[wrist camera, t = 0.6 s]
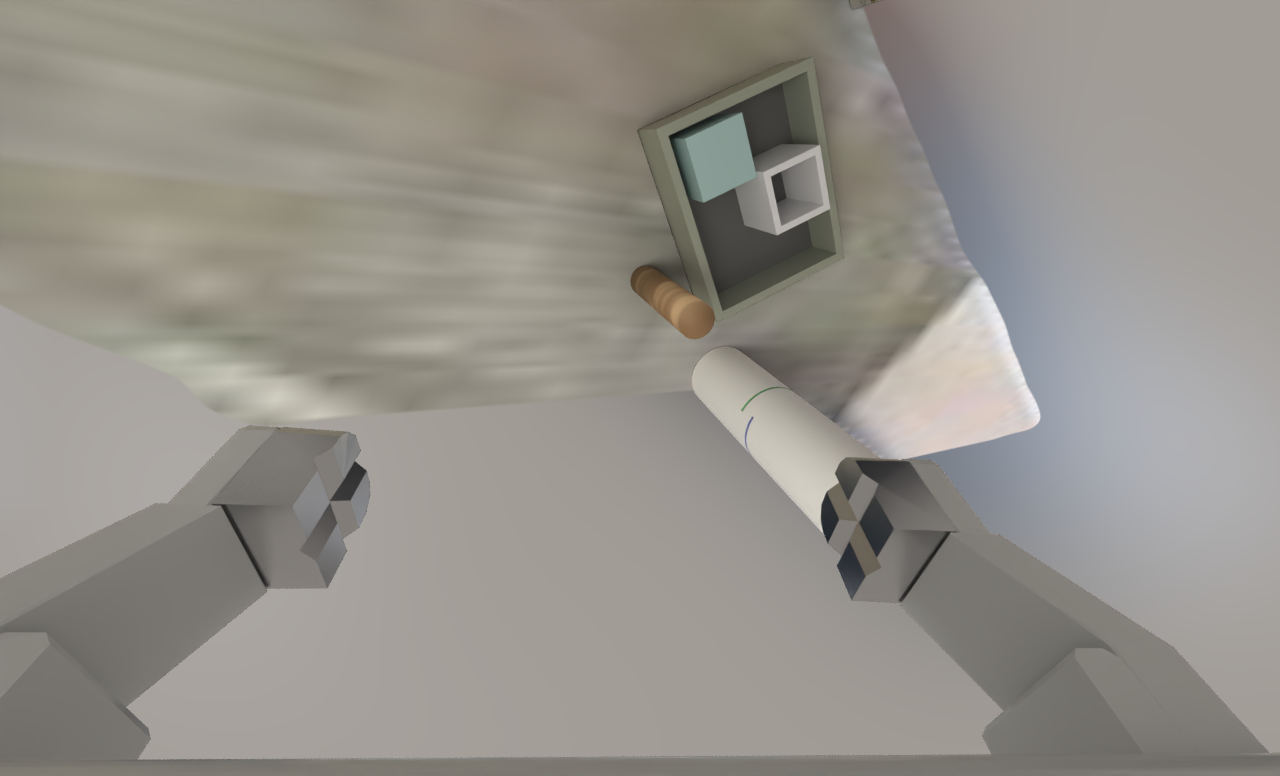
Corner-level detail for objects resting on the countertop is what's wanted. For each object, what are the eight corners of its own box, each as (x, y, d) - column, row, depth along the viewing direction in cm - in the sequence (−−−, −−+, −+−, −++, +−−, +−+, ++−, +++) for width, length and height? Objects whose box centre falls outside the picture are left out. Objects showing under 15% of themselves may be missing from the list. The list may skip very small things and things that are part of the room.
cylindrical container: (683, 398, 58) (813, 550, 37) (704, 341, 56) (856, 468, 34) (735, 406, 61) (883, 552, 40) (756, 352, 58) (927, 476, 37)
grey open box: (637, 130, 44) (665, 129, 38) (780, 64, 46) (828, 52, 40) (697, 307, 54) (726, 328, 48) (814, 248, 55) (857, 261, 49)
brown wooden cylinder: (626, 273, 50) (674, 312, 38) (653, 260, 50) (708, 295, 39) (637, 300, 51) (686, 345, 40) (663, 287, 51) (719, 328, 40)
